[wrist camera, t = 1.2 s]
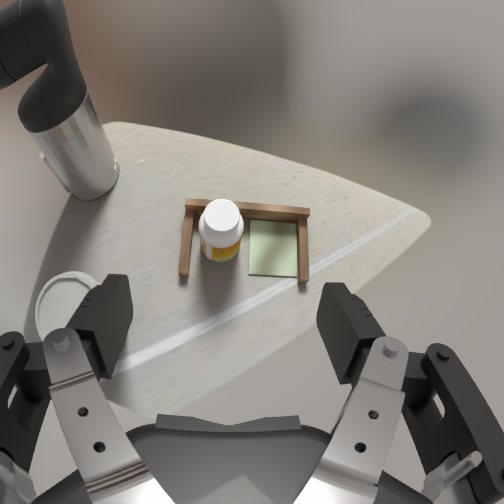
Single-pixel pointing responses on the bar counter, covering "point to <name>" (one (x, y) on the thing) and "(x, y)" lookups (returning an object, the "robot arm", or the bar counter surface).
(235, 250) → the supplement bottle
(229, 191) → the bar counter surface
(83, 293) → the disposable coffee cup
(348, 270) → the bar counter surface
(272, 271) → the bay
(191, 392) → the bar counter surface
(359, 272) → the bar counter surface
